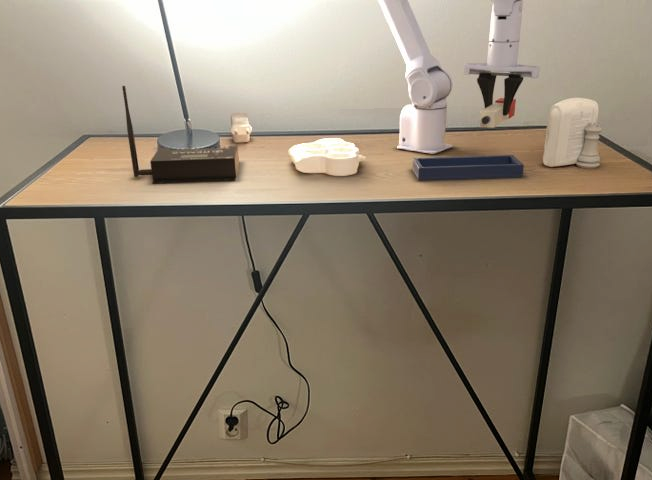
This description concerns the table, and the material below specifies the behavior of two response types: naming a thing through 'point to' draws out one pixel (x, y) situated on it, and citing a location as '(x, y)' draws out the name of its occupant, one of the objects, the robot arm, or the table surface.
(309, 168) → the white lobed tray
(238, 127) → the power adapter
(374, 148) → the table surface
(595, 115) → the photo printer
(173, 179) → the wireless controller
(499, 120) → the marker
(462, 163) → the tray
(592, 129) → the rook chess piece
